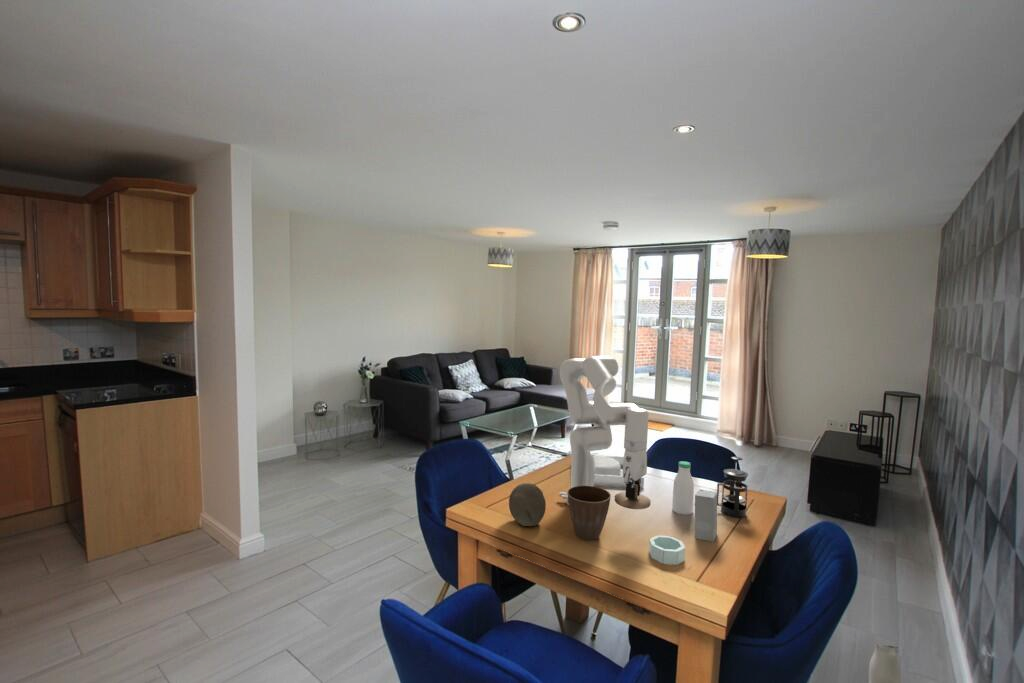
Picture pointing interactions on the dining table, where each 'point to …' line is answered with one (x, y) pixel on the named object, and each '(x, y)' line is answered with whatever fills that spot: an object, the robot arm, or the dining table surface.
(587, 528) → the plant pot
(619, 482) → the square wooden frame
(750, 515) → the dining table surface
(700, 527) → the skincare box
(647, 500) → the lid
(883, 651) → the glass bottle
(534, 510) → the grey stone egg
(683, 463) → the milk bottle
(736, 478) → the french press
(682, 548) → the bowl
